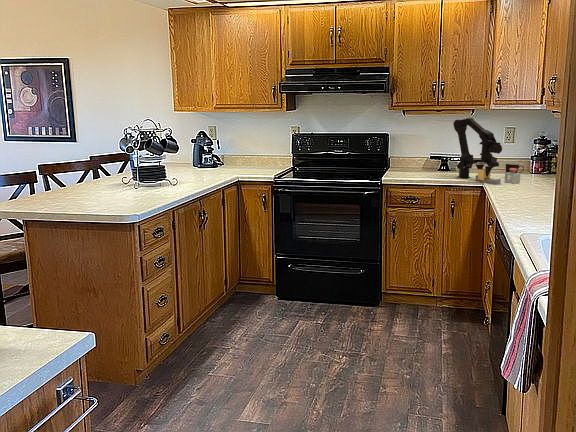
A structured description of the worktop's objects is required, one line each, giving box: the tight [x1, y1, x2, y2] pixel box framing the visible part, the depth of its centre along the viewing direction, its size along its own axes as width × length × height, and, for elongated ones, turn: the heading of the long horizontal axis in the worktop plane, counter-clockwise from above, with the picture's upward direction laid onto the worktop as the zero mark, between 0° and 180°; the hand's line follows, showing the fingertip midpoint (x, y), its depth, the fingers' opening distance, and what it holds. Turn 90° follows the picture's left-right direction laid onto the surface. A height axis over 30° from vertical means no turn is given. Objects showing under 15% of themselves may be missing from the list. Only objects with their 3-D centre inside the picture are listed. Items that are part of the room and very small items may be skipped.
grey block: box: [504, 172, 521, 184], centre depth 380 cm, size 7×6×6 cm
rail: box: [475, 174, 502, 185], centre depth 380 cm, size 19×3×3 cm, turn 26°
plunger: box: [510, 168, 517, 174], centre depth 379 cm, size 4×4×6 cm
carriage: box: [477, 168, 492, 180], centre depth 383 cm, size 5×6×6 cm
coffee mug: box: [505, 162, 525, 174], centre depth 396 cm, size 12×9×10 cm
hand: (484, 176), depth 383 cm, fingers closed on carriage, 5 cm apart
